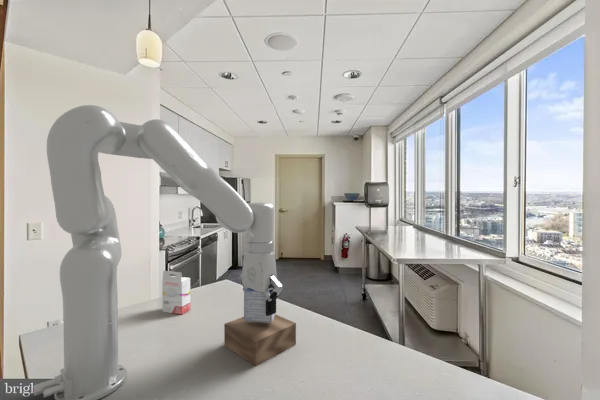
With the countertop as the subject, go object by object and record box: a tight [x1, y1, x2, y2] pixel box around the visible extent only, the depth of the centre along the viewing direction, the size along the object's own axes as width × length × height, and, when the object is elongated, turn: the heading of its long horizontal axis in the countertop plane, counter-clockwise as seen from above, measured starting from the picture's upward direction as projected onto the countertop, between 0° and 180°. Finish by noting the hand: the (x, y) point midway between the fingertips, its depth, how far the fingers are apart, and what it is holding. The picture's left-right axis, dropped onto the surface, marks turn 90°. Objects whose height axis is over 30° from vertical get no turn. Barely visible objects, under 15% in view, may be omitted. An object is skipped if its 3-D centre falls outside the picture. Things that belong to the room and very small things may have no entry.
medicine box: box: [243, 288, 276, 322], centre depth 79 cm, size 8×4×9 cm, turn 85°
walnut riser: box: [223, 313, 297, 367], centre depth 80 cm, size 14×14×6 cm
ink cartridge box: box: [161, 270, 192, 315], centre depth 103 cm, size 9×5×15 cm, turn 73°
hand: (259, 309), depth 79 cm, fingers closed on medicine box, 9 cm apart
